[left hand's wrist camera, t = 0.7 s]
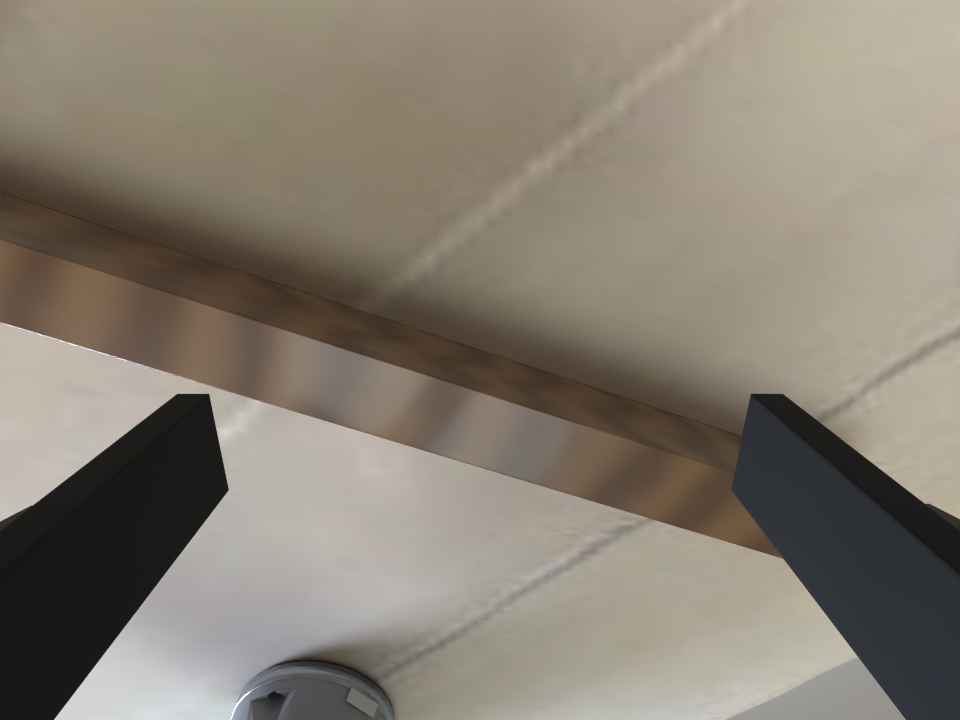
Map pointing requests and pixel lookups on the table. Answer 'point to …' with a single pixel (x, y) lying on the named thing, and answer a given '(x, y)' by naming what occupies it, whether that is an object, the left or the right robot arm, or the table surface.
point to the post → (362, 372)
